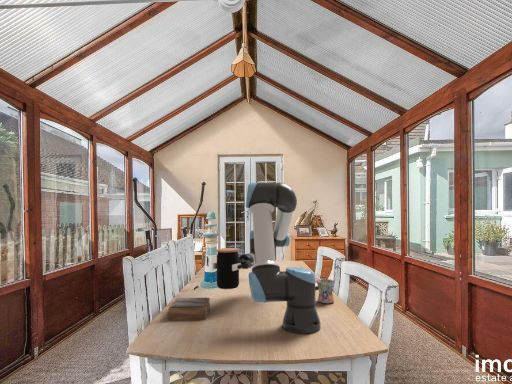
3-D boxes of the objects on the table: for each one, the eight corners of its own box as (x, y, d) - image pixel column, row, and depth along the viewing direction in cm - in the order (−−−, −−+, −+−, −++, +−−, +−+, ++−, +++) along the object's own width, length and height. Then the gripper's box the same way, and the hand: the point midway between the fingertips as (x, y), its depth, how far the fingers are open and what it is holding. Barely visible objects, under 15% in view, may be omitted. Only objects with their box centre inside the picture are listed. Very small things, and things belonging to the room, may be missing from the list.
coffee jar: (243, 285, 159) (243, 248, 161) (230, 290, 150) (229, 251, 152) (226, 283, 165) (225, 247, 166) (212, 287, 156) (212, 249, 157)
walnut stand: (205, 319, 142) (205, 306, 142) (168, 320, 142) (168, 307, 142) (209, 308, 158) (209, 297, 158) (176, 309, 158) (176, 297, 158)
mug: (337, 304, 162) (337, 282, 163) (319, 305, 161) (318, 283, 162) (330, 297, 174) (329, 277, 175) (313, 298, 173) (312, 278, 174)
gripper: (266, 269, 168) (243, 277, 149) (229, 266, 179) (203, 273, 160) (266, 254, 168) (243, 260, 149) (229, 252, 180) (203, 257, 161)
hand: (222, 267), depth 155 cm, fingers closed on coffee jar, 11 cm apart
